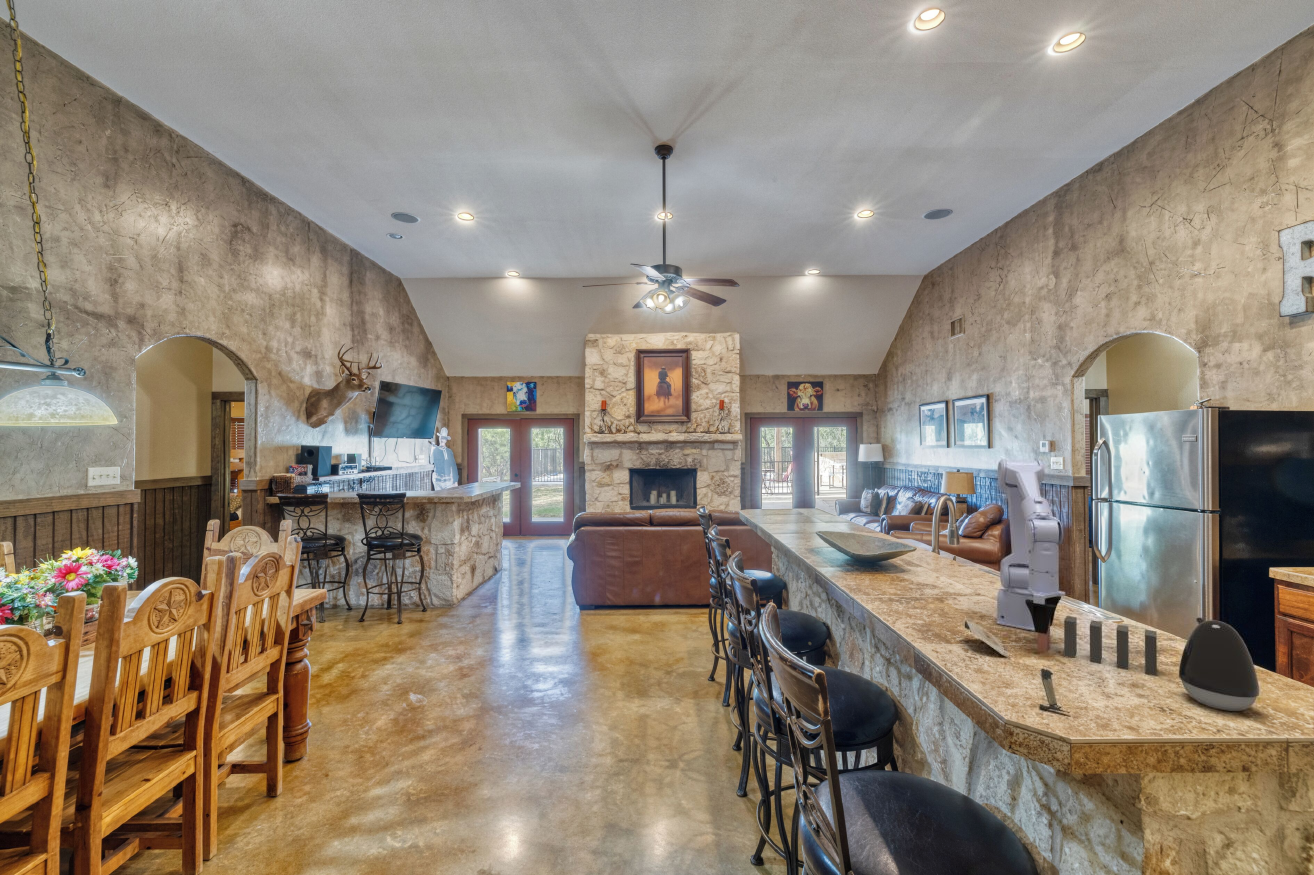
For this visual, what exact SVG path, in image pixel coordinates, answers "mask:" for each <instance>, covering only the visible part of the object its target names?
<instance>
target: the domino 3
mask: <svg viewBox="0 0 1314 875" xmlns="http://www.w3.org/2000/svg"><path fill="white" fill-rule="evenodd" d="M1129 634H1130V633H1129V626H1127V625H1123V624H1122V625H1121V624H1117V626H1116V668H1118V669H1122V670H1127V671H1128V670H1129V664H1130V663H1129V662H1130V660H1129V657H1130V653H1129V652H1130V651H1129V649H1130V648H1129V646H1130V645H1129V643H1130V642H1129V641H1130V640H1129Z"/></svg>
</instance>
